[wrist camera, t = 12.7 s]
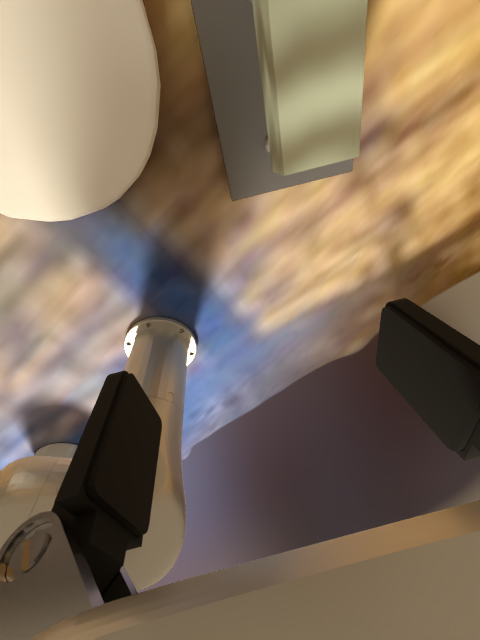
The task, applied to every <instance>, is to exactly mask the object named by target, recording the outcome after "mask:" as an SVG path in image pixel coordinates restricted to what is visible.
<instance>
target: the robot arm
mask: <svg viewBox="0 0 480 640" xmlns="http://www.w3.org/2000/svg"><path fill="white" fill-rule="evenodd" d="M124 349H125V352H126V355H127V356H128V360H127V363H126V366H125V369H124V371H121V372H117V373H114V374H110V375H108V376H107V378H106V380H105V382H104V385H103V387H102V389H101V392H100V394H99V397H98V399H97V401H96V404H95V406H94V408H93V411H92V413H91V416H90V418H89V420H88V423H87V425H86V427H85V430H84V432H83V434H82V437H81V439H80V442H79V444H78V446H77V449H76V451H75V453H74V456H73V458H64V457H52V456H30V457H25V458H21V459H18V460H16V461H14V462H12V463H10V464H9V465H7V466H6V467H4V468H3V469H2V470H1V471H0V640H480V500H479V501H475V502H472V503H467V504H464V505H460V506H456V507H452V508H448V509H445V510H441V511H437V512H433V513H429V514H426V515H422V516H418V517H414V518H411V519H407V520H403V521H399V522H395V523H392V524H388V525H384V526H380V527H377V528H373V529H369V530H365V531H362V532H358V533H355V534H351V535H347V536H343V537H339V538H336V539H332V540H329V541H325V542H321V543H317V544H314V545H310V546H306V547H303V548H299V549H295V550H291V551H287V552H284V553H280V554H276V555H273V556H269V557H265V558H262V559H258V560H254V561H251V562H247V563H244V564H240V565H236V566H233V567H229V568H225V569H222V570H218V571H214V572H211V573H208V574H203V575H200V576H196V577H193V578H189V579H185V580H182V581H178V582H175V583H171V584H168V585H165V586H161V587H158V588H155V589H151V590H148V591H144V592H141V593H138V592H137V590H141V589H144V588H146V587H149V586H151V585H153V584H154V583H156V582H157V581H159V580H160V579H161V578H163V577H164V576H165V575H166V574H167V573H168V571H170V569H171V568H172V567H173V565H174V564H175V562H176V560H177V558H178V556H179V554H180V551H181V548H182V544H183V540H184V535H185V526H186V525H185V524H186V505H185V494H184V485H183V475H182V459H181V446H182V427H183V412H184V398H185V384H186V370H187V365H189V364H190V363H191V361H192V360H193V359H194V357H195V354H196V349H197V344H196V339H195V337H194V335H193V333H192V332H191V330H190V329H189V328H188V327H187V326H185V325H184V324H182V323H181V322H178V321H176V320H174V319H170V318H165V317H152V318H147V319H144V320H141V321H139V322H137V323H136V324H134V325H133V326H132V327H131V328H130V329H129V331H128V333H127V335H126V337H125V340H124ZM376 365H377V367H378V369H379V371H380V372H381V373H382V374H383V375H384V376H385V377H386V378H387V380H388V381H389V382H390V383H391V384H392V385H393V386H394V388H395V389H396V390H397V391H398V392H399V393H400V394H401V395H402V397H403V398H404V399H405V400H406V401H407V402H408V403H409V405H411V407H412V408H413V409H414V410H415V411H416V413H417V414H418V415H419V416H420V417H421V418H422V419H423V420H424V422H425V423H426V424H427V425H428V426H429V427H430V428H431V430H432V431H433V432H434V433H435V434H436V435H437V436H438V437H439V439H440V440H441V441H442V442H443V443H444V444H445V445H446V446H447V447H448V448H449V449H450V450H452V451H456V452H457V453H458V454H459V455H460V457H461V458H462V459H463V460H467V459H471V458H475V457H478V456H480V345H478V344H477V343H475V342H474V341H472V340H471V339H469V338H467V337H466V336H464V335H463V334H461V333H460V332H458V331H456V330H455V329H453V328H452V327H450V326H449V325H447V324H446V323H444V322H443V321H441V320H439V319H438V318H436V317H435V316H433V315H431V314H430V313H428V312H427V311H425V310H424V309H422V308H421V307H419V306H418V305H416V304H415V303H413V302H411V301H410V300H408V299H406V298H403V299H399V300H395V301H391V302H388V303H387V304H386V306H385V307H384V308H383V309H382V313H381V322H380V330H379V338H378V347H377V355H376Z"/></svg>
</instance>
